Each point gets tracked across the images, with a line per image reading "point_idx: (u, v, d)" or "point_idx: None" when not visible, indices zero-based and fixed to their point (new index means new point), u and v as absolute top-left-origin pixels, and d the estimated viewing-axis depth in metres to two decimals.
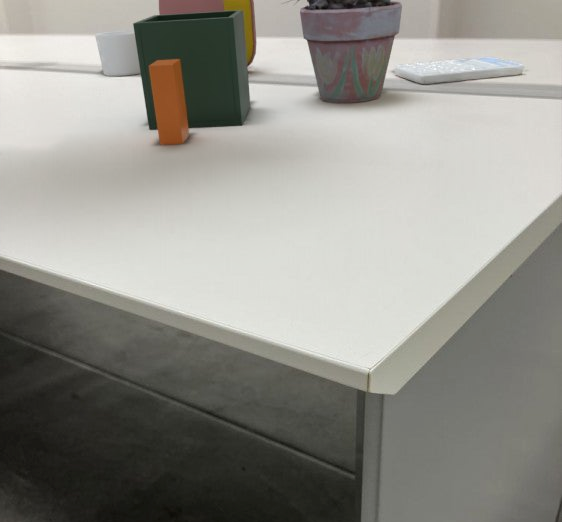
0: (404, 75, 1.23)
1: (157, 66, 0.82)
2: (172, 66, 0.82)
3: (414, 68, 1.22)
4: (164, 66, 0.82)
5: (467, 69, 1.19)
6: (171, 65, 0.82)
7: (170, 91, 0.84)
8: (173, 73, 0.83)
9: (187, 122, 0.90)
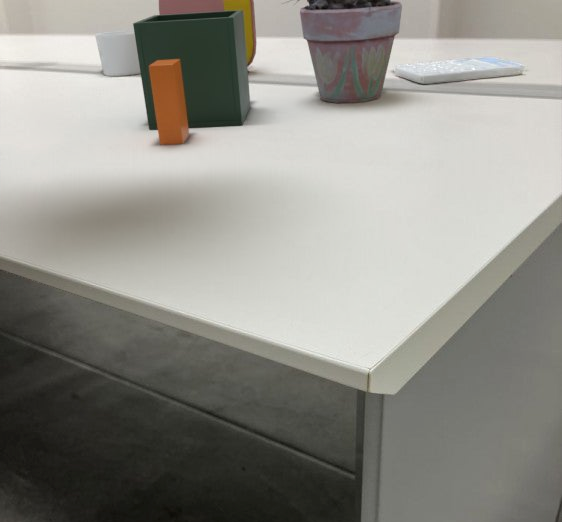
0: (404, 75, 1.23)
1: (157, 66, 0.82)
2: (172, 66, 0.82)
3: (414, 68, 1.22)
4: (164, 66, 0.82)
5: (467, 69, 1.19)
6: (171, 65, 0.82)
7: (170, 91, 0.84)
8: (173, 73, 0.83)
9: (187, 122, 0.90)
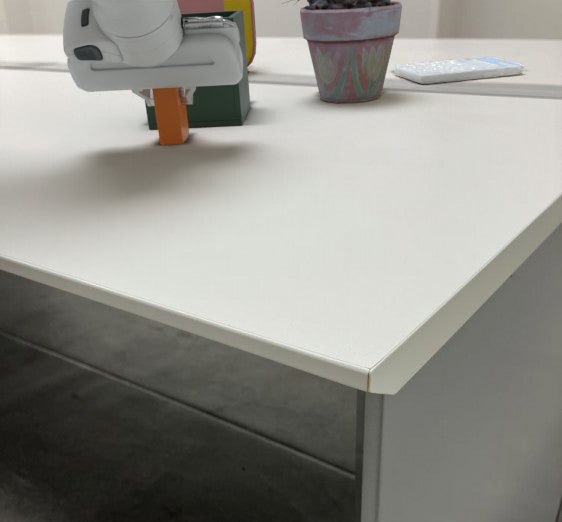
0: (404, 75, 1.23)
1: None
2: None
3: (414, 68, 1.22)
4: None
5: (467, 69, 1.19)
6: None
7: (170, 91, 0.84)
8: None
9: (187, 122, 0.90)
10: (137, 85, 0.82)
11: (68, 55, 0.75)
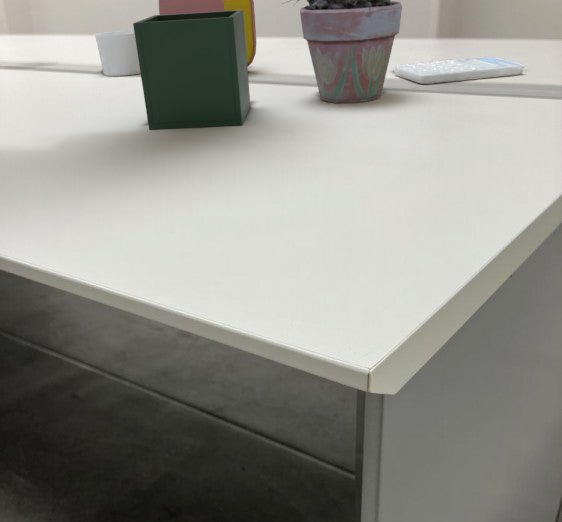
0: (404, 75, 1.23)
1: None
2: None
3: (414, 68, 1.22)
4: None
5: (467, 69, 1.19)
6: None
7: None
8: None
9: None
10: None
11: None
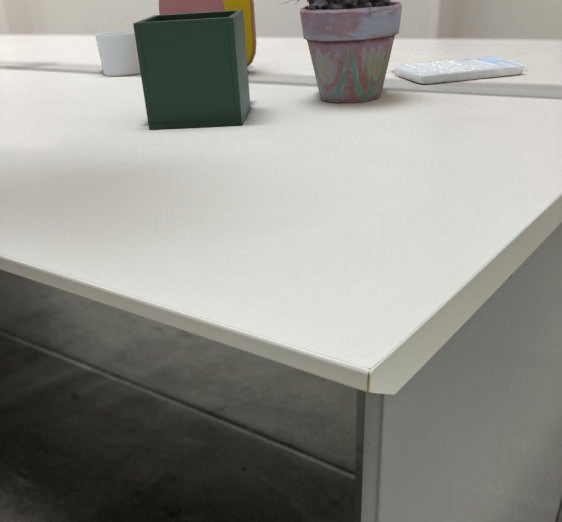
0: (404, 75, 1.23)
1: None
2: None
3: (414, 68, 1.22)
4: None
5: (467, 69, 1.19)
6: None
7: None
8: None
9: None
10: None
11: None
